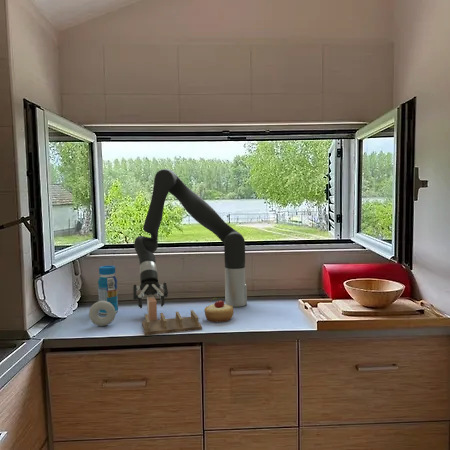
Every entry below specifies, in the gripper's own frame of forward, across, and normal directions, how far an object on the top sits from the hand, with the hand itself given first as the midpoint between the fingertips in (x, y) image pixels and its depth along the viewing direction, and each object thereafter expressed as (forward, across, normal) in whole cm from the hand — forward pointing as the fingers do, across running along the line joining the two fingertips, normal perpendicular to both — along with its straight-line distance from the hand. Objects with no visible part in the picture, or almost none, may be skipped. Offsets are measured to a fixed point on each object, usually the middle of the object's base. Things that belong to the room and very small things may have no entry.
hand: (151, 306), depth 169 cm
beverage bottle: (-7, -17, +15) cm, 24 cm away
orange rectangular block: (+4, 0, +4) cm, 5 cm away
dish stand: (+13, +6, -6) cm, 16 cm away
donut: (+7, -19, 0) cm, 21 cm away
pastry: (+11, +26, -4) cm, 28 cm away
